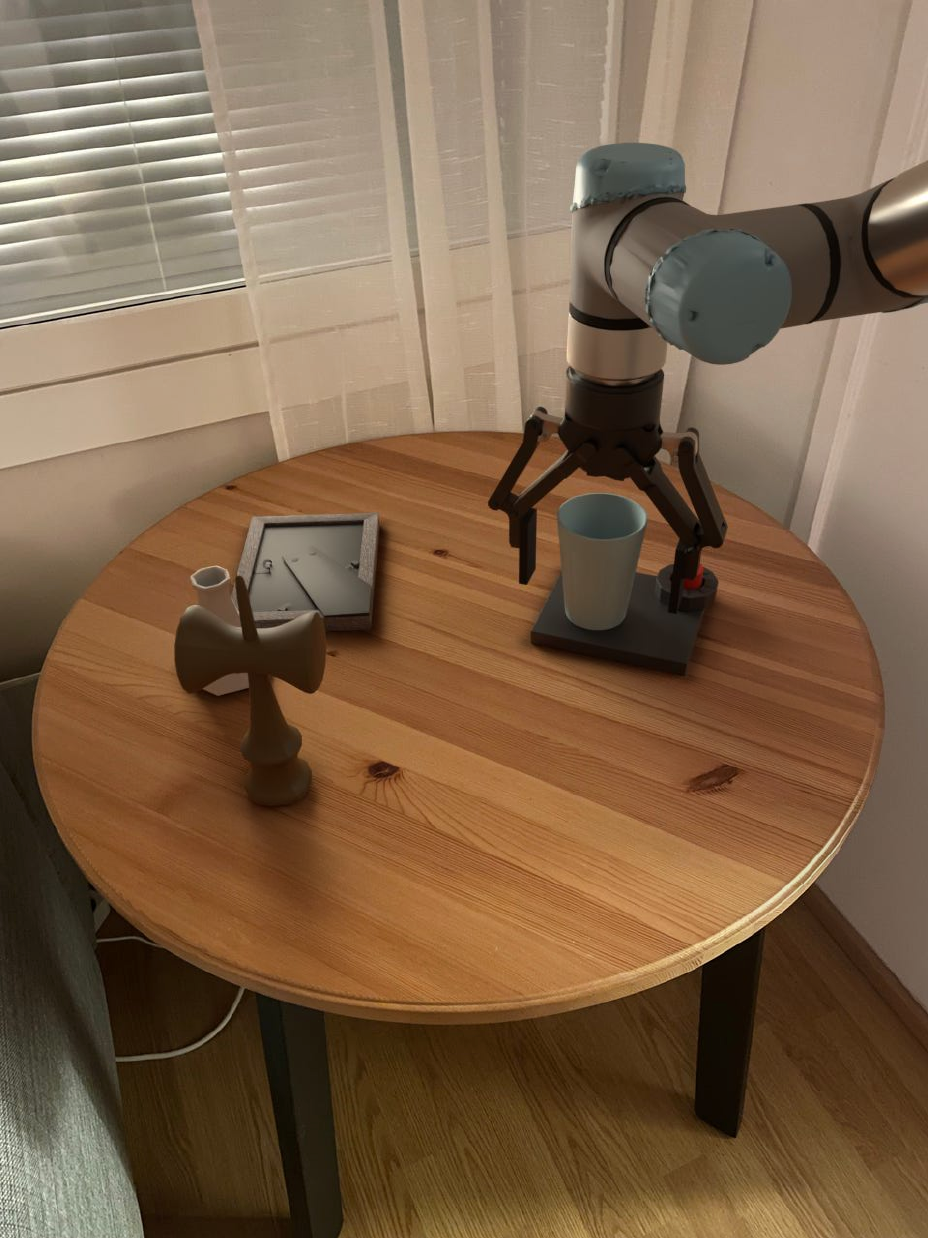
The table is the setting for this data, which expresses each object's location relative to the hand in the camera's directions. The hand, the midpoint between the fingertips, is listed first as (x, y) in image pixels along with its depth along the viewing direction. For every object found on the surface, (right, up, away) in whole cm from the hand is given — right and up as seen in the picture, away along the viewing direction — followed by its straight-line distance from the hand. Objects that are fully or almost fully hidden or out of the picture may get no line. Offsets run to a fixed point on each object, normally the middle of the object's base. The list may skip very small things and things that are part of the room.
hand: (599, 590), depth 90 cm
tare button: (+8, +1, +3) cm, 9 cm away
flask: (-33, -7, -1) cm, 34 cm away
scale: (+3, -3, +3) cm, 5 cm away
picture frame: (-28, +2, +10) cm, 29 cm away
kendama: (-26, -16, -12) cm, 33 cm away
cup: (0, -2, +2) cm, 3 cm away
